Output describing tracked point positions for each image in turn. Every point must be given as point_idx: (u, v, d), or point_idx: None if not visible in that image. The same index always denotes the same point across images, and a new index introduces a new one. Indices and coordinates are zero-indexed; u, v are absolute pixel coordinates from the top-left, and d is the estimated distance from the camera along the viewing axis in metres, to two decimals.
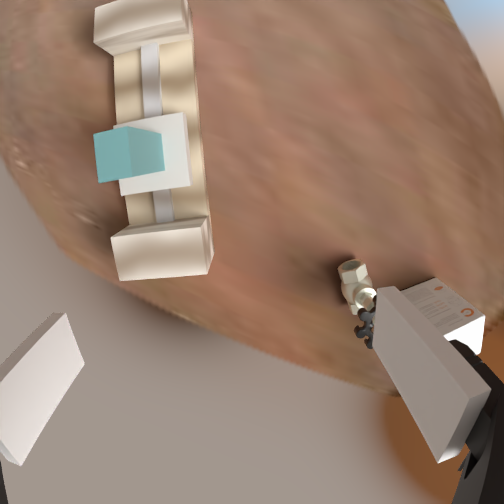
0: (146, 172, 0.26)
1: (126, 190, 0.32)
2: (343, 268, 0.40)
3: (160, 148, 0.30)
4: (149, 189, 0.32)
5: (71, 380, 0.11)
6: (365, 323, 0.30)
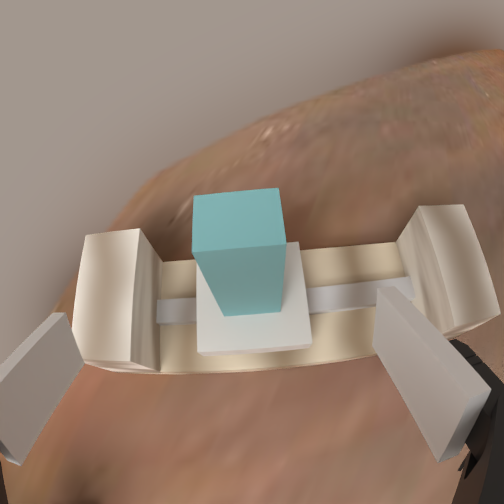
0: (209, 283, 0.16)
1: None
2: None
3: (256, 310, 0.21)
4: (199, 291, 0.23)
5: (71, 380, 0.11)
6: None
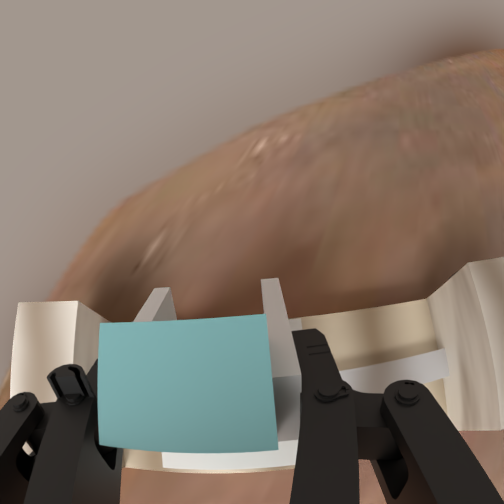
0: None
1: None
2: None
3: None
4: None
5: None
6: None
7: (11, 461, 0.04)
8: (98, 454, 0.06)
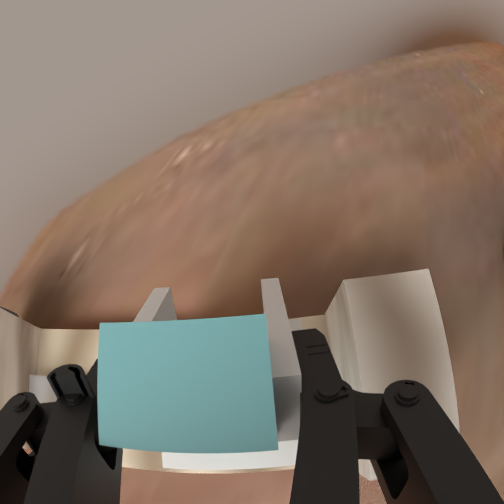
0: None
1: None
2: None
3: None
4: None
5: None
6: None
7: (11, 461, 0.04)
8: (98, 454, 0.06)
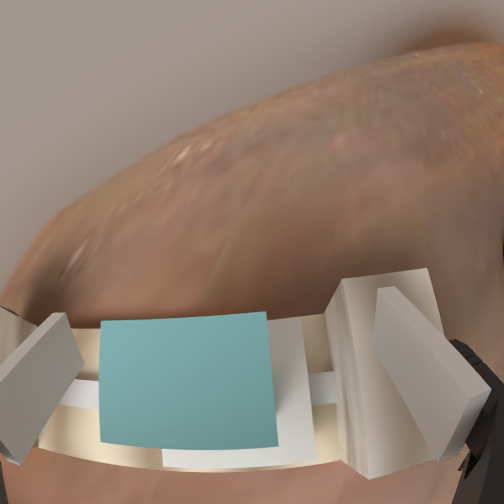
0: None
1: None
2: None
3: None
4: None
5: (71, 380, 0.11)
6: None
7: None
8: None
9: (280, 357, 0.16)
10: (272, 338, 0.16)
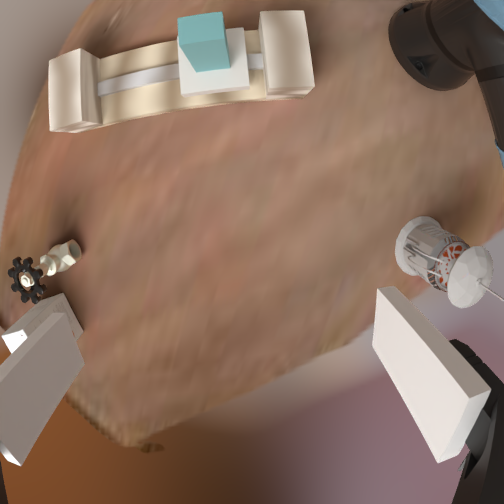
0: (187, 56, 0.26)
1: None
2: (73, 244, 0.42)
3: (215, 67, 0.31)
4: (180, 60, 0.31)
5: (71, 380, 0.11)
6: (22, 265, 0.32)
7: None
8: None
9: (233, 42, 0.31)
10: (230, 35, 0.30)
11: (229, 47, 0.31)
